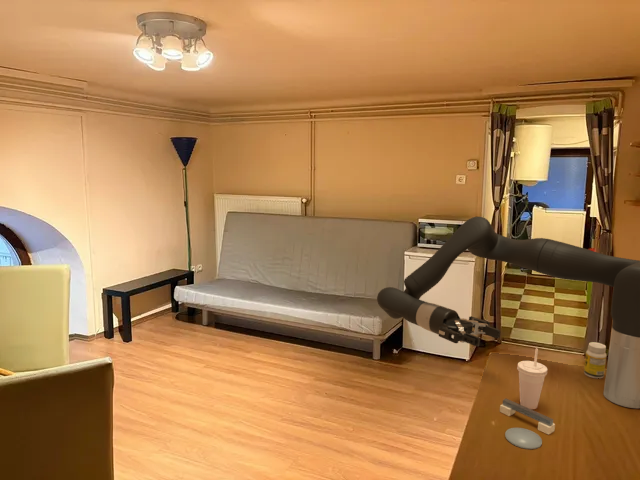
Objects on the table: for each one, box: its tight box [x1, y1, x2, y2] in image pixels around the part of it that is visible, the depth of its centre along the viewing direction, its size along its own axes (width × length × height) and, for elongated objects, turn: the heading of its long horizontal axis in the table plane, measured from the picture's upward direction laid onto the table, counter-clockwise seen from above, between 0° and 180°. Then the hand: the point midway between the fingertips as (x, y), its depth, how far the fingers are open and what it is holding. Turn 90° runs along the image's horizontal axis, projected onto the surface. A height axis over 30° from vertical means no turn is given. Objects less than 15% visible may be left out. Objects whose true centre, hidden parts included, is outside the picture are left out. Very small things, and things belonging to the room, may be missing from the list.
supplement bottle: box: [583, 341, 607, 379], centre depth 130 cm, size 5×5×8 cm
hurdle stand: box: [499, 403, 556, 435], centre depth 108 cm, size 11×2×2 cm, turn 38°
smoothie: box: [516, 347, 548, 410], centre depth 114 cm, size 6×6×14 cm
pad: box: [504, 427, 543, 450], centre depth 101 cm, size 7×7×1 cm
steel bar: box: [502, 398, 554, 426], centre depth 108 cm, size 11×1×1 cm, turn 38°
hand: (489, 338), depth 121 cm, fingers open, 8 cm apart
